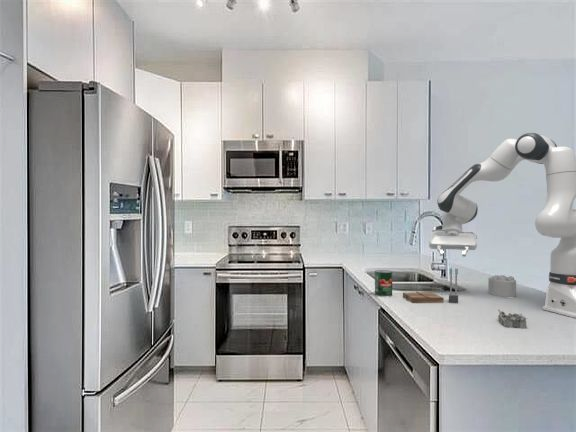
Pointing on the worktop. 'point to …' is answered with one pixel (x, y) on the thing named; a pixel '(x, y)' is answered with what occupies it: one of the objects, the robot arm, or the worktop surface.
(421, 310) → the worktop surface
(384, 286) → the canned tomato
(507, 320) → the egg carton
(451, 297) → the tongs
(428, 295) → the board
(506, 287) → the lumpy-topped squat cylinder
